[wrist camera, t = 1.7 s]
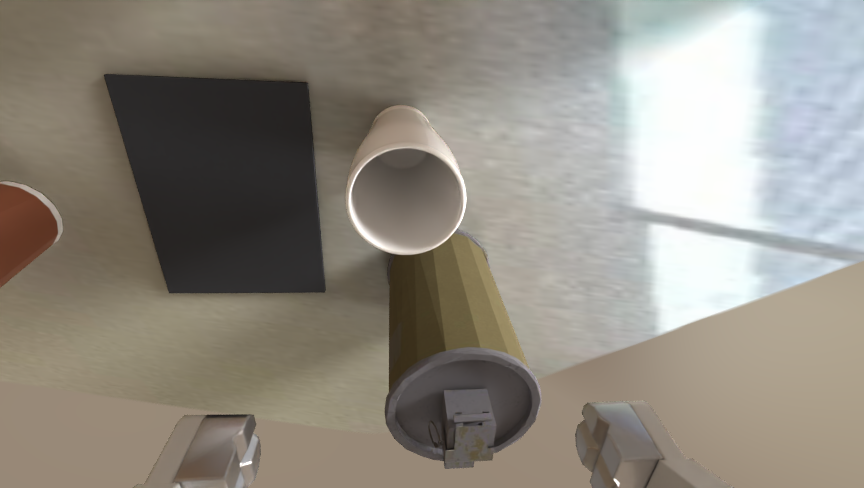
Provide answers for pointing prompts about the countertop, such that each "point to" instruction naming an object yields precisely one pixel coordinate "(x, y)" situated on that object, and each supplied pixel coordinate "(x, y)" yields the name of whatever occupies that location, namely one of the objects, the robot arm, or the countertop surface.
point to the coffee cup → (24, 227)
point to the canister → (454, 358)
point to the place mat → (225, 180)
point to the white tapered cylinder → (404, 185)
